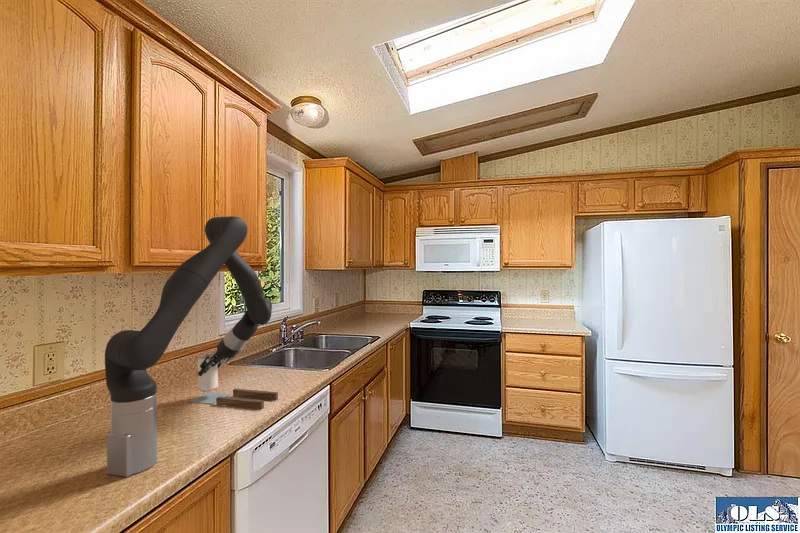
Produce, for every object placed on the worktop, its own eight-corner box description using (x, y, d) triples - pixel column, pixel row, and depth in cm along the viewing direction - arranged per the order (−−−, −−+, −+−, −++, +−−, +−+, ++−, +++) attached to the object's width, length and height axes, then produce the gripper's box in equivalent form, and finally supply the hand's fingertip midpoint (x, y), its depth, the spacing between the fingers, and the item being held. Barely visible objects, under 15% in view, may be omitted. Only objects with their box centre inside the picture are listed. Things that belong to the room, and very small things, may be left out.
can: (210, 392, 135) (208, 359, 135) (194, 391, 137) (193, 358, 136) (222, 385, 141) (221, 354, 141) (207, 384, 143) (206, 353, 142)
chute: (261, 409, 128) (261, 402, 128) (216, 405, 132) (216, 397, 132) (278, 399, 138) (278, 392, 138) (235, 395, 142) (235, 388, 142)
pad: (211, 404, 133) (211, 403, 133) (188, 402, 135) (188, 401, 135) (230, 394, 143) (230, 394, 143) (208, 392, 145) (208, 391, 145)
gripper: (239, 331, 144) (213, 360, 147) (212, 338, 130) (184, 370, 133) (252, 345, 143) (225, 374, 146) (226, 354, 129) (197, 386, 132)
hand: (206, 372), depth 139 cm, fingers closed on can, 5 cm apart
